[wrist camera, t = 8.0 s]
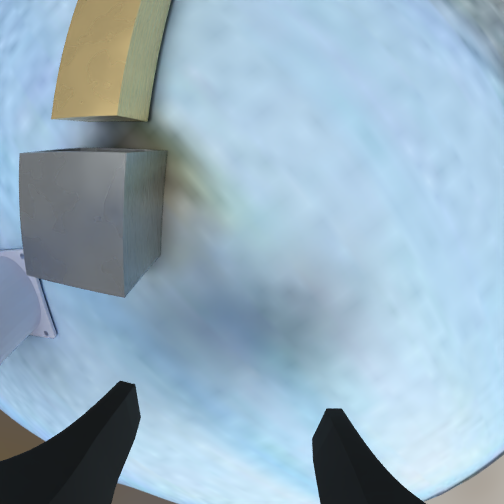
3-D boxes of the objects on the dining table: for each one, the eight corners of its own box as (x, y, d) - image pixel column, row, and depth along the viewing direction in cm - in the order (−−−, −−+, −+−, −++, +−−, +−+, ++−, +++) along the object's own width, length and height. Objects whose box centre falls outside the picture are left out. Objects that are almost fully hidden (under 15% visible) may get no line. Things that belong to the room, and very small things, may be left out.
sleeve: (160, 255, 18) (124, 297, 13) (77, 242, 18) (26, 275, 13) (167, 150, 16) (126, 153, 11) (77, 147, 16) (19, 153, 11)
